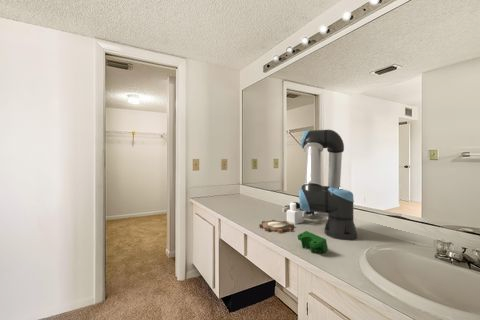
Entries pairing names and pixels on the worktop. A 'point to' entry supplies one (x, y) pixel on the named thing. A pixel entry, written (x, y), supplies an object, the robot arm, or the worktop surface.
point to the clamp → (313, 242)
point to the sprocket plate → (276, 226)
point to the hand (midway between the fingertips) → (292, 212)
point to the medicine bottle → (294, 213)
